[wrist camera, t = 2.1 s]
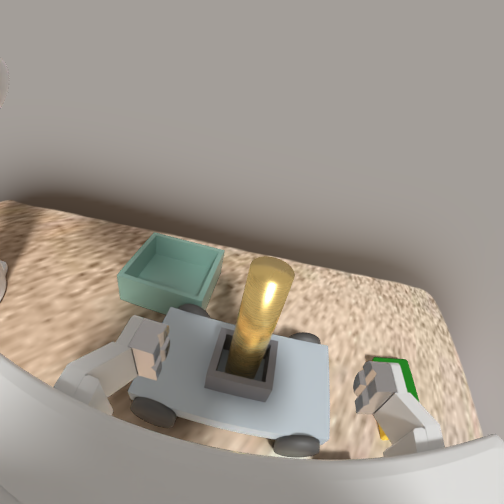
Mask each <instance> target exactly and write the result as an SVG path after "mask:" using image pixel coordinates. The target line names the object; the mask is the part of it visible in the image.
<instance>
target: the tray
mask: <svg viewBox="0 0 504 504" xmlns="http://www.w3.org/2000/svg"><path fill="white" fill-rule="evenodd" d="M224 251H225V250H221V249H217V248H213V247H209V246H205V245H201V244H197V243H193V242H190V241H186V240H182V239H178V238H174V237H170V236H166V235H163V234H159V233H155V232H154V233H153V234H152V235H151V237H150V238H149V239H148V240H147V241H146V242H145V243H144V244H143V245H142V247H141V248H140V249H139V250H138V251H137V252H136V253H135V255H134V256H133V257H132V258H131V259H130V260H129V261H128V263H127V264H126V265H125V266H124V267H123V269H122V270H121V271H120V272H119V273H118V274H117V279H118V287H119V294H120V299H121V300H124V301H127V302H130V303H132V304H135V305H138V306H141V307H144V308H147V309H150V310H153V311H156V312H159V313H162V314H165V315H167V313H168V311H169V309H170V307H173V308H176V309H178V307H179V306H181V305H183V304H194V305H197V306H199V307H201V308H203V309H204V310H206V308H207V305H208V303H209V300H210V298H211V295H212V293H213V290H214V288H215V285H216V283H217V281H218V278H219V276H220V273H221V268H222V262H223V257H224Z"/></svg>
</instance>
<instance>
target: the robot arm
mask: <svg viewBox="0 0 504 504" xmlns="http://www.w3.org/2000/svg"><path fill="white" fill-rule="evenodd" d="M8 88H9V72H8V69H7V66H6V64H5V62H4V61H3V60H2V59H1V58H0V109H1V107H2V105H3V103H4V101H5V98H6V96H7V92H8ZM7 269H8V266H7V264H6V262H4V261H0V301H1V299H2V297H3V295H4V293H5V289H6V278H5V275H6V272H7ZM169 332H170V330H169V325H166V324H163V323H159V322H156V321H153V320H150V319H147V318H143V317H140V316H137V315H133V316H132V317H131V318H130V320H129V321H128V323H127V325H126V326H125V328H124V329H123V331H122V333H121V334H120V336H119V338H118V339H117V341H116V343H115V342H111V343H109V344H107V345H105V346H103V347H101V348H99V349H97V350H95V351H93V352H91V353H89V354H87V355H85V356H83V357H81V358H79V359H77V360H75V361H73V362H71V363H69V364H67V366H66V368H65V369H64V371H63V372H62V374H61V376H60V377H59V379H58V380H57V382H56V384H55V385H54V387H52V386H50V385H48V384H47V383H45V382H43V381H42V380H40V379H38V378H37V377H35V376H33V375H32V374H30V373H29V372H27V371H25V370H24V369H22V368H21V367H19V366H18V365H16V364H15V363H14V362H12V361H11V360H9V359H8V358H7V357H5V356H4V355H3V354H1V353H0V504H504V441H503V440H502V439H501V438H500V437H499V436H498V435H496V434H491V435H488V436H485V437H482V438H478V439H475V440H472V441H468V442H465V443H461V444H457V445H453V446H449V447H445V446H444V441H443V437H442V432H441V428H440V424H439V423H438V422H437V421H436V420H435V419H434V418H433V417H432V416H431V415H430V414H429V412H428V411H427V410H426V409H425V408H424V407H423V406H422V405H421V404H420V403H419V402H418V401H417V399H416V398H415V397H414V396H413V395H412V394H411V393H408V392H407V388H406V385H405V381H404V377H403V374H402V370H401V367H400V365H399V364H398V363H388V362H376V361H368V362H366V363H365V364H364V366H363V369H364V370H362V371H360V372H358V374H357V375H356V377H355V380H354V385H353V389H354V393H355V394H356V396H357V399H356V400H355V405H356V413H357V414H374V415H373V416H374V417H375V419H376V420H377V422H378V423H379V425H380V427H381V428H382V430H383V431H384V433H385V434H386V436H387V437H388V439H389V440H390V442H391V443H392V446H390V447H389V448H388V449H386V450H385V451H384V452H383V455H384V457H381V458H368V459H348V460H316V459H295V458H282V457H272V456H263V455H255V454H248V453H242V452H236V451H230V450H225V449H220V448H215V447H210V446H206V445H201V444H197V443H193V442H189V441H185V440H181V439H178V438H174V437H171V436H167V435H164V434H161V433H158V432H155V431H151V430H148V429H145V428H143V427H140V426H137V425H134V424H131V423H129V422H126V421H124V420H121V419H118V418H116V417H114V416H112V413H113V409H112V406H111V405H110V403H109V401H108V399H107V398H108V397H109V396H111V395H112V394H113V393H115V392H116V391H118V390H119V389H121V388H122V387H123V386H125V385H126V384H128V383H129V382H130V381H132V380H133V379H134V378H136V377H137V376H138V375H139V376H142V377H146V378H149V379H153V380H156V381H157V380H158V377H159V375H160V372H161V370H162V362H163V361H165V360H166V358H167V355H168V352H169V348H170V338H169V337H168V334H169Z"/></svg>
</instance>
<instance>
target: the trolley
mask: <svg viewBox="0 0 504 504" xmlns="http://www.w3.org/2000/svg"><path fill="white" fill-rule="evenodd" d="M162 323H163V324H166V325H169V330H170V332H169V334H168V337H169V338H170V348H169V352H168V355H167V358H166V360H165V361H163V362H162V370H161V372H160V375H159V377H158V380H157V381H156V380H153V379H149V378H146V377H142V376H139V375H138V376H137V377H136V378H134V379H133V381H132V383H131V385H130V388H129V390H128V394H129V397H130V399H131V400H133V403H132V405H131V407H130V409H131V411H132V412H133V413H134V414H135V415H136V416H138V417H139V418H141V419H142V420H144V421H146V422H148V423H151V424H153V425H156V426H159V427H164V428H171V427H173V425H174V422H175V420H176V416H178V417H181V418H185V419H188V420H191V421H195V422H198V423H202V424H205V425H209V426H213V427H217V428H221V429H225V430H229V431H234V432H238V433H243V434H248V435H253V436H258V437H264V438H270V439H275V443H274V452H275V453H277V454H279V455H282V456H287V457H307V456H312V455H315V454H317V453H319V447H320V445H322V444H324V443H325V442H326V441H328V440H329V429H330V394H329V357H328V346H326V345H321V344H320V340H319V338H318V337H317V336H315V335H313V334H311V333H296V334H293V335H291V336H290V337H289V338H287V337H283V336H278V335H274V334H272V337H271V339H270V342H269V344H268V347H267V349H266V352H265V354H264V357H263V359H262V361H261V364H260V366H259V369H258V371H257V373H256V376H255V378H254V379H249V378H244V377H240V376H236V375H232V374H228V373H225V366H226V362H227V358H228V354H229V350H230V346H231V342H232V338H233V334H234V330H235V326H236V325H233V324H229V323H225V322H222V321H218V320H214V319H211V318H210V316H209V315H208V313H207V312H206V311H205V310H204V309H203V308H201V307H199V306H197V305H194V304H183V305H181V306H179V307H178V309H176V308H173V307H170V309H169V311H168V313H167V315H166V317H165V318H164V320H163V322H162Z"/></svg>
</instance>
